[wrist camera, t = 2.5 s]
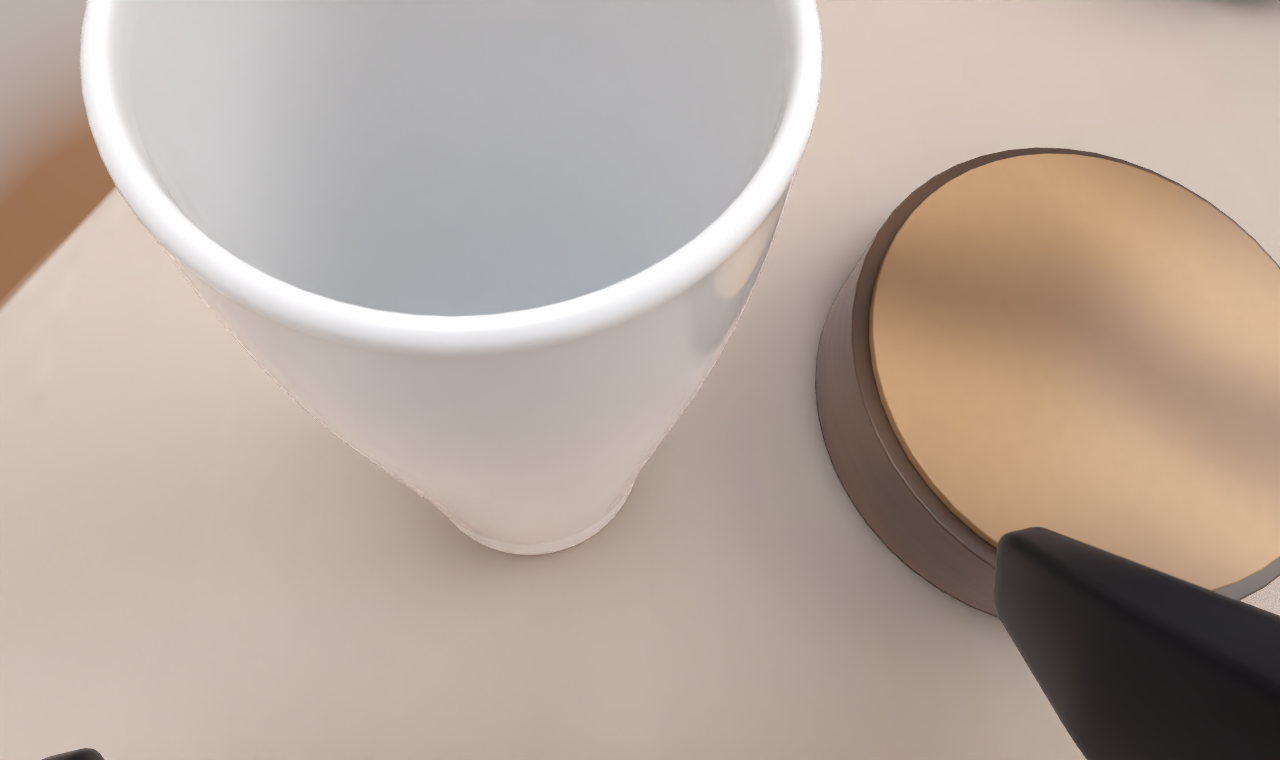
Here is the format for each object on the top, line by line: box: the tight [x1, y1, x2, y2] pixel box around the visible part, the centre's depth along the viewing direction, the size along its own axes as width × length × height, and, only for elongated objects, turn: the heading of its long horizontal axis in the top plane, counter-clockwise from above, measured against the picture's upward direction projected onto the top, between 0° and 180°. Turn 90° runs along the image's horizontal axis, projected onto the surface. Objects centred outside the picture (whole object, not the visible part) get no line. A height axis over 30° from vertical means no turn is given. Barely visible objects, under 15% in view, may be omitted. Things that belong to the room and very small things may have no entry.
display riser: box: [816, 148, 1280, 617], centre depth 22 cm, size 12×12×4 cm
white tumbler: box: [80, 0, 823, 555], centre depth 15 cm, size 7×7×15 cm
